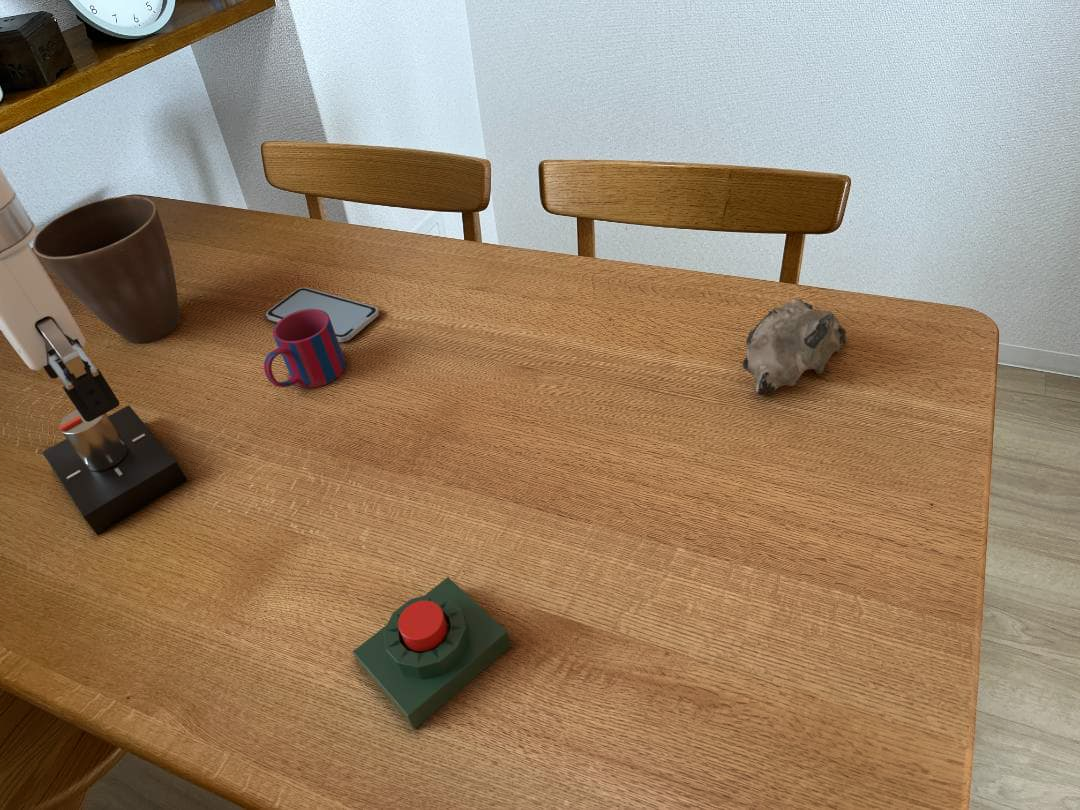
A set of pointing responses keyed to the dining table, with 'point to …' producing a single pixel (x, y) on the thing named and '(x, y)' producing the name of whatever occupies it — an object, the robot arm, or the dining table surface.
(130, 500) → the panel
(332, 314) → the smartphone
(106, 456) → the hob knob
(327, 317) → the mug
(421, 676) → the block
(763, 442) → the dining table surface
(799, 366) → the decorative stone
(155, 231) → the flower pot
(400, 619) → the button
